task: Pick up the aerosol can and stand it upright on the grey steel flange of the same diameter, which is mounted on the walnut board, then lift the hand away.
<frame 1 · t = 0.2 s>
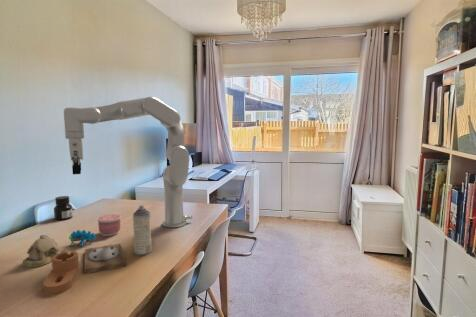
hand: (77, 172, 145), 31 cm above the table, tool pointing down, fingers open, 9 cm apart
flange board: (104, 258, 126), on the table
ceramic model: (43, 260, 126), on the table
ink bottle: (63, 218, 178), on the table
container: (110, 233, 155), on the table
gear: (82, 244, 141), on the table
bracket: (62, 281, 109), on the table
aerosol can: (143, 252, 132), on the table
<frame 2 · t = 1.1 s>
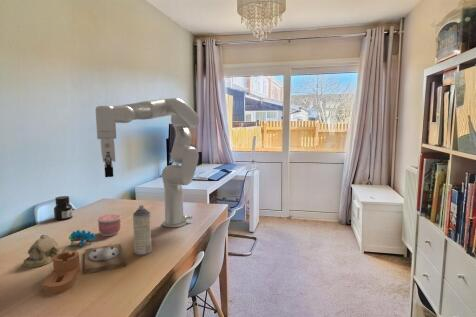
hand: (109, 174, 136), 32 cm above the table, tool pointing down, fingers open, 9 cm apart
nothing on the table moved.
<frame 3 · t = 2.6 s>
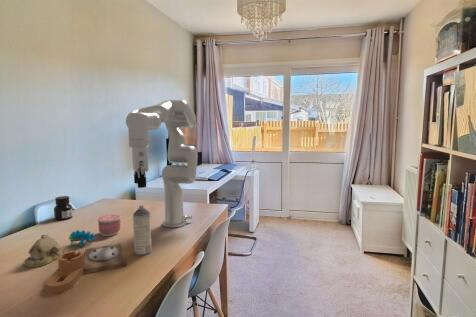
hand: (140, 185, 129), 29 cm above the table, tool pointing down, fingers open, 9 cm apart
bracket: (66, 280, 110), on the table
everything else where it was.
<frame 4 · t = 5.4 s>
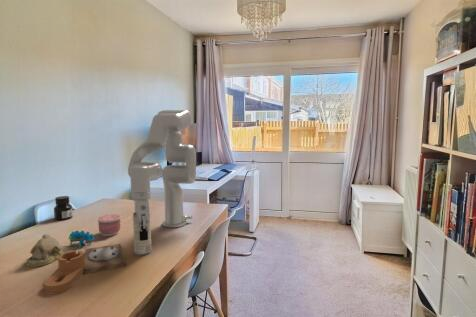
hand: (142, 236, 132), 7 cm above the table, tool pointing down, fingers closed on aerosol can, 6 cm apart
aerosol can: (143, 252, 132), on the table, touching gripper
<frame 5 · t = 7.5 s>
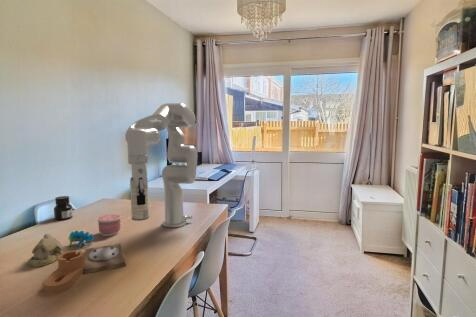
hand: (139, 202, 130), 22 cm above the table, tool pointing down, fingers closed on aerosol can, 6 cm apart
aerosol can: (140, 218, 130), point 15 cm above the table, touching gripper
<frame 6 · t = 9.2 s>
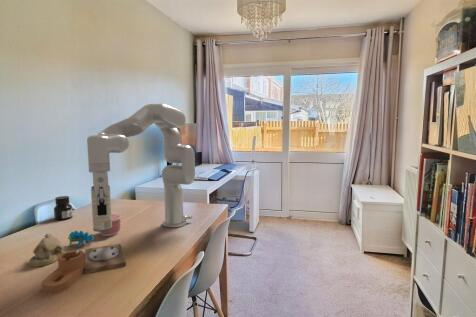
hand: (101, 212, 124), 19 cm above the table, tool pointing down, fingers closed on aerosol can, 6 cm apart
aerosol can: (102, 229, 124), point 12 cm above the table, touching gripper
when the fingers open (10 cm above the table, at t = 11.9 s): aerosol can drops 1 cm, resting on flange board.
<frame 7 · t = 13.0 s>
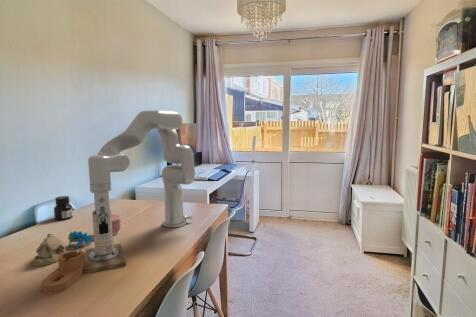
hand: (103, 229, 125), 12 cm above the table, tool pointing down, fingers open, 9 cm apart
aerosol can: (104, 253, 126), point 2 cm above the table, touching flange board
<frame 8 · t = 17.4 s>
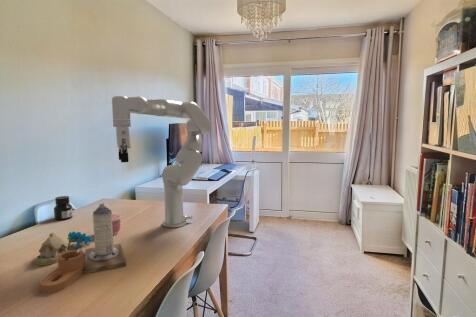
hand: (123, 160, 146), 36 cm above the table, tool pointing down, fingers open, 9 cm apart
at the end: aerosol can 0.2 cm off-centre on the flange board, point 2.3 cm above the flange board's base; aerosol can tilted 0° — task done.
